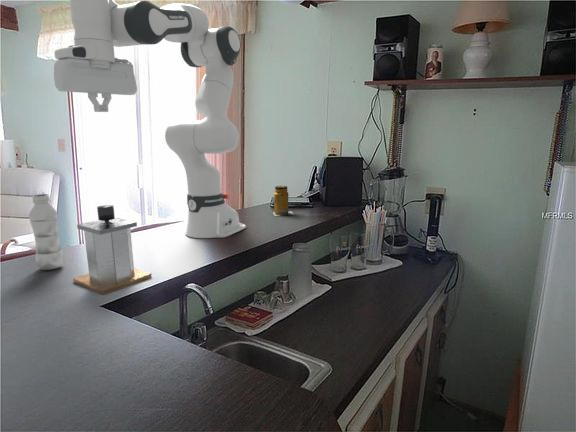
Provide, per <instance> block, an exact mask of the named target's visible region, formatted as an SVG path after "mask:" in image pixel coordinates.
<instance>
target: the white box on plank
mask: <svg viewBox="0 0 576 432" xmlns="http://www.w3.org/2000/svg"><path fill="white" fill-rule="evenodd" d="M137 224H138V223H137V222H136V221H133V220H129V219H124V218H119V217H115V219H112V220H109V224H108V225H105V221H101V220H93V221H88V222H84V223H79V224H76V227H77V230H81V231H83V233H84V234H83V235H84V241H85V242H84V243H85V251H86V259H87V268H88V269H87V270H88V273H87V274H83V275H80V276H77V277H73V278H72V280H73V281H72V282H73V283H74V284H77V285H79V286H81V287H83V288H87V289H89V290H91V291H93V292H95V293H98V294H100V295H102V296H103V295H106V294H110V293H112V292H115V291H117V290H120V289H123V288H127V287H129V286H131V285H134V284H137V283H139V282H142V281H145V279H146V280H148V279H151V278H152V273H150V272H147V271H144V270H141V269H138V268H135V264H134V254H133V243H132V242H133V241H132V232H131V231H132V230H131V228H135V227H138V225H137ZM147 278H148V279H147Z"/></svg>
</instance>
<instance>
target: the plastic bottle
mask: <svg viewBox="0 0 576 432" xmlns="http://www.w3.org/2000/svg"><path fill="white" fill-rule="evenodd" d="M50 202H51V200H50V195H49V194H47V193H41V194H33V195H32V203H33V206H32V207H31V210H30V211H29V212H28V213H29V214H28V219H29V221H30V225H31V228H32V232H33V236H34V240H35V242H34V243H35V264H36V267H37V268H39V270H42V271H48V270H49V271H51V270H56V269H59V268H61V267H62V266H63V264H64V263H65V262H64V261H65V256H64V253H63V250H62V246H61V245H60V244H61V243H60V239H59V232H58V230H59V229H58V225H59V224H58V222H59V221H58V212H57V210H56V209H55V207H53V205H51V204H50Z"/></svg>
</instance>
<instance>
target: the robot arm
mask: <svg viewBox="0 0 576 432" xmlns="http://www.w3.org/2000/svg"><path fill="white" fill-rule="evenodd" d="M69 2H70V3H69V4H70V7H69V8H70V16H71V22H72V25H73V28H74V37H73V42H74V45H69V46H67V47H62V48H59V49H56V50H54V57H55V59H56V61H55V62H54V64H53V80H54V86H55V88H56V90H58V91H59V92H66V93H67V92H69V93H81V94H82V93H83V94H86V93H87V97H88V98H87V99H88V100H89V102H90V103H91V104H92V105H93V111H94V112H95V113H108V112H109V104H110V102H111V100H112V95H118V96H119V95H121V96H122V95H123V96H134V95H136V94H137V93H138V92H137V91H138V88H137V87H138V86H137V82H136V76H135V70H134V65H133V64H132V62H131V61H129V59H128V58H119V57H115V47H116V48H117V47H118V48H121V47H122V48H123V47H132V46H141V45H142V46H144V45H150V46H151V45H157V44H159V43H160V42H162V41H163V39H164V40H165V41H167V42H171V43H180V54H181V58H182V59H183V61H184V62H185V64H186V65H187V66H189V67H191V68H202V67H205V73H204V75H203V78H202V80H201V82H200V86H199V88H198V92H197V95H196V98H195V101H194V103H195V109H196V111H197V112H198V113H199V114H200V115H201V116H202V117H204V118H203V119H195V120H194V119H190V120H189V119H188V120H187V119H186V120H185V119H183V120H178V121H173V122H171V123H169V125H168V126H167V127H166V130H165V134H164V138H165V139H164V140H165V143H166V144H167V147H168V148H169V149H170V150H171V151H173V152H174V154H176V156H178V158H179V160H180V161H181V163H182V165H183V167H184V170H185V175H186V182H187V184H186V185H187V195H186V196H187V197H186V203H187V208H188V212H187V213H188V214H187V224H186V225H187V226H186V231H185V235H186V236H187V237H190V238H194V239H213V238H226V237H227V238H228V237H229V236H231V235H233V234H235V233H238V232H240V231H242V230H244V229H246V228H247V226H246V224H244V223H241V222H240V218H239V213H238V211H236V210H235V209H234V208H232V207H231V206H230V205H228V204H227V203H226V201H225V199H226V200H229V199H230V193H226V192H224V193H221V192H222V191H221V174H220V171H219V169H218V168H217V167H216V166H214V165H213V164H211V163H210V162H209V161H208V160H207V157H206V154H210V155H211V154H212V155H214V154H215V155H216V154H217V155H219V154H220V155H221V154H226V153H230V152H234V151H235V149H236V148H237V147H238V145H239V141H240V140H239V139H240V134H239V133H240V132H239V131H238V128H237V127H236V124H234V123H233V122H232V121H231V120H230V119H229V117H228V109H229V104H230V100H231V98H232V97H231V96H232V92H233V85H234V72H233V69H232V67H231V66H234V65H235V64H236V62H237V58H239V55H240V51H241V46H242V45H241V44H242V43H241V39H240V36H239V34H238V32H237V31H236V30H235V28H233V27H231V26H220V27H218V28H217V27H216V28H215V27H214V28H209V24H210V23H209V18H208V15H207V14H206V13H205V11H204V10H203V9H202V8H199V7H197V6H195V5H193V4H185V3H171V4H167V5H164V6H162V7H160V6H158V5H156V4H155V3H154V2H151V1H149V0H140V1H136V2H133V3H128V4H121V5H120V4H118V3H117V2H116V1H115V0H70V1H69ZM100 94H101V98H102V99H103V101H102V103H101V104H100V102H99V101H98V99H97V98H98V97H99V96H98V95H100Z"/></svg>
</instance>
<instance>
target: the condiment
mask: <svg viewBox="0 0 576 432" xmlns="http://www.w3.org/2000/svg"><path fill="white" fill-rule="evenodd" d="M273 194H274V195H273V196H274V197H273V198H274V199H273V200H274V201H273V206H274V207H273V208H274V211H273V212H272V214H273V216H274V217H277V216H278V217H282V216H283V217H284V216H295V213H293V211H289V192H288V186H286V185H276V186H275V187H274V193H273Z"/></svg>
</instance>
